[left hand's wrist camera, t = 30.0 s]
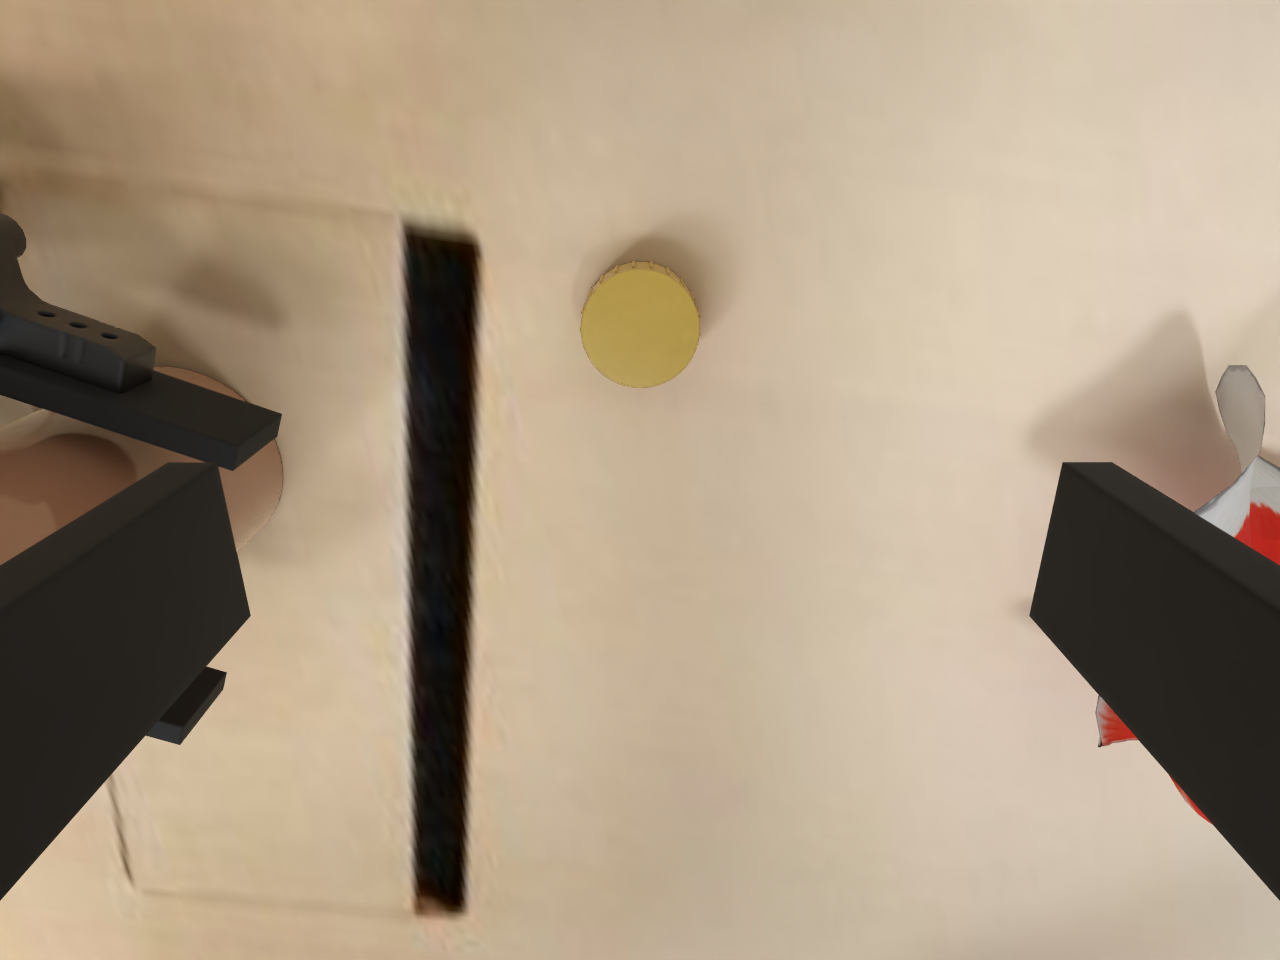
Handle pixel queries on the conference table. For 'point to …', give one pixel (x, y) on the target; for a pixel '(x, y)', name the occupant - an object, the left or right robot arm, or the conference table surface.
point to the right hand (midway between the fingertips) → (229, 584)
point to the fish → (1231, 503)
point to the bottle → (108, 474)
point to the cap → (640, 325)
